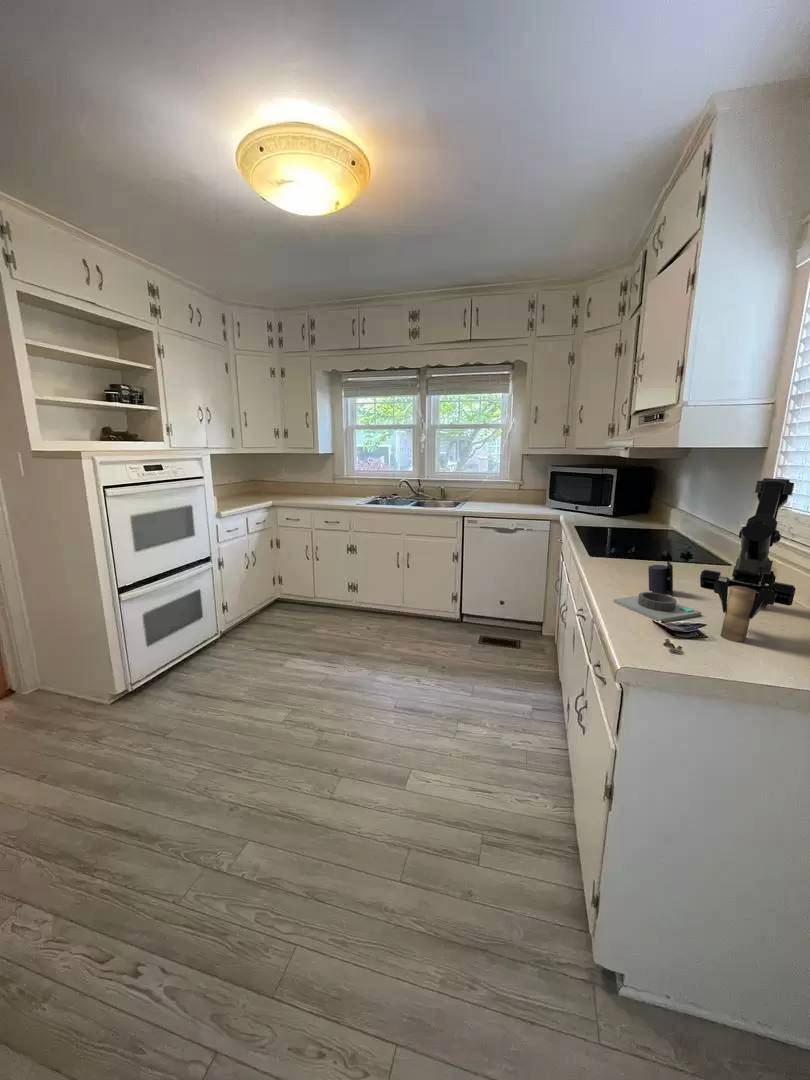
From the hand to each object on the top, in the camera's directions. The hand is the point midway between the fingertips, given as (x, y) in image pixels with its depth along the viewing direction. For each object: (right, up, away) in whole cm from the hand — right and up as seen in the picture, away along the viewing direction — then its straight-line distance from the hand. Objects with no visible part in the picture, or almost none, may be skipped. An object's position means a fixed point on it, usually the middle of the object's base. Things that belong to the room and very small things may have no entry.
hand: (737, 614), depth 106 cm
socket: (-8, -2, +21) cm, 23 cm away
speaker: (+2, +1, +36) cm, 37 cm away
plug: (+1, -6, +2) cm, 7 cm away
